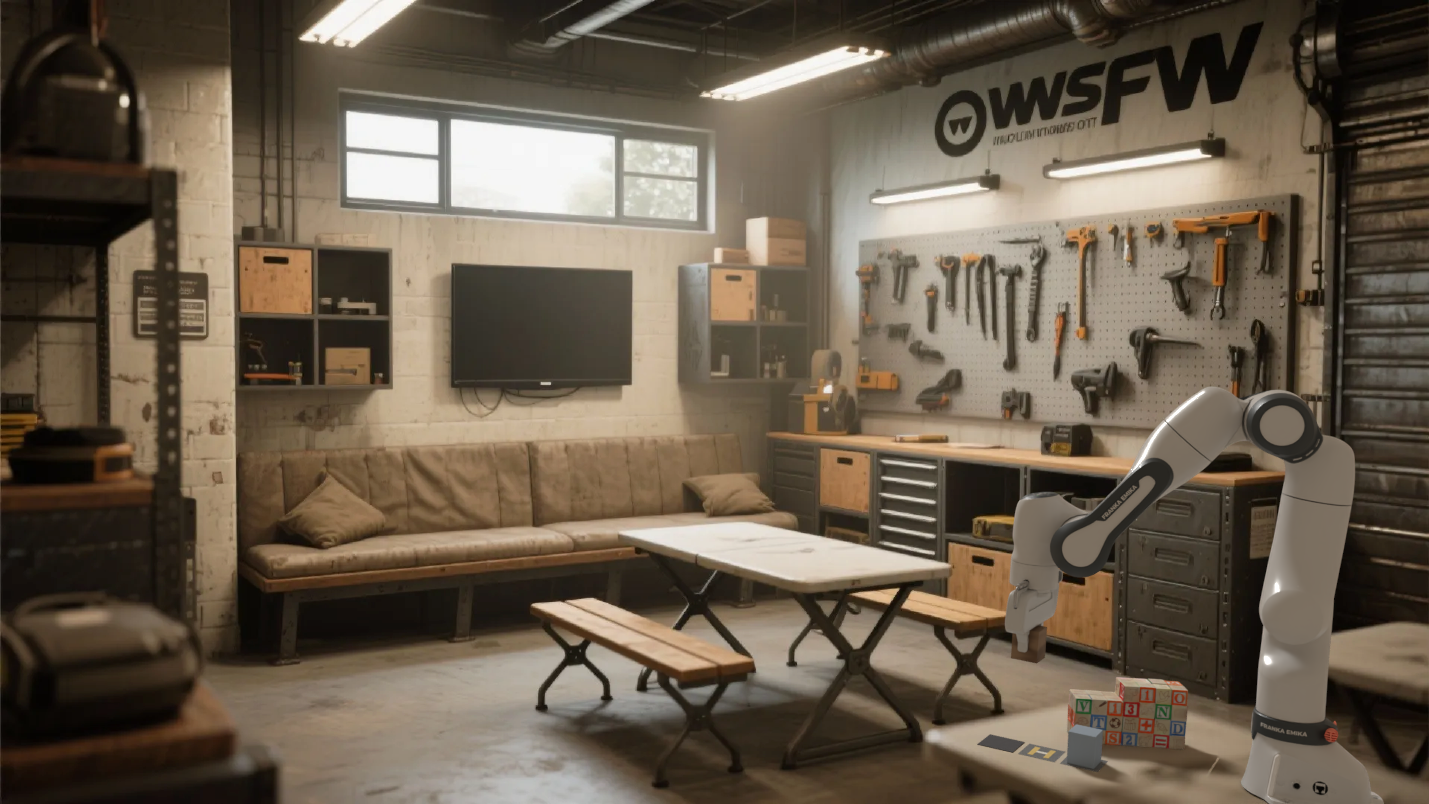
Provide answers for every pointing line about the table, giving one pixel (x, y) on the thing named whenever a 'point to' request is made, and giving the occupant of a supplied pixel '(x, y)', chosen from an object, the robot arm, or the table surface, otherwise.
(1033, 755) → the code tile
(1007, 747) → the rubber mat
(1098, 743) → the slate-blue block
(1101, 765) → the code tile
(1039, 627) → the walnut block
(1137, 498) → the robot arm
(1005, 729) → the table surface
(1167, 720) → the stack of blocks
